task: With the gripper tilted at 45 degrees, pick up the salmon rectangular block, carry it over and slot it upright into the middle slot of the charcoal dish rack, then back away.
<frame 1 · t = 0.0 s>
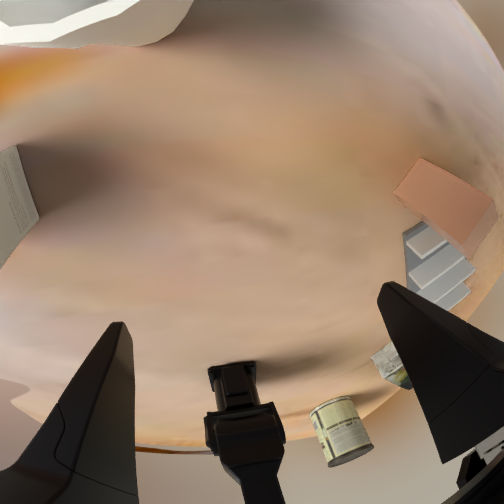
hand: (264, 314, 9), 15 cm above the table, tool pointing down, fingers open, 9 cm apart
salmon rectangular block: (413, 183, 25), on the table
juice carton: (402, 350, 47), on the table
rack: (437, 263, 33), on the table
foam cup: (144, 10, 12), on the table
coffee can: (330, 406, 54), on the table
supplement box: (3, 192, 16), on the table
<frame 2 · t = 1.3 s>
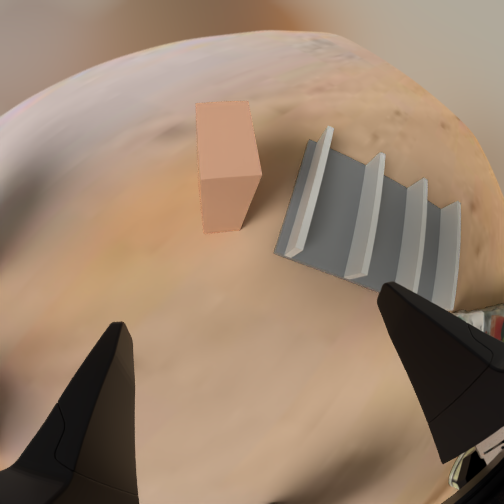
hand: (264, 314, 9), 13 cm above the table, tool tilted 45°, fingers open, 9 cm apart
salmon rectangular block: (218, 203, 23), on the table
juice carton: (483, 339, 26), on the table
rack: (380, 229, 25), on the table
coffee can: (468, 459, 22), on the table
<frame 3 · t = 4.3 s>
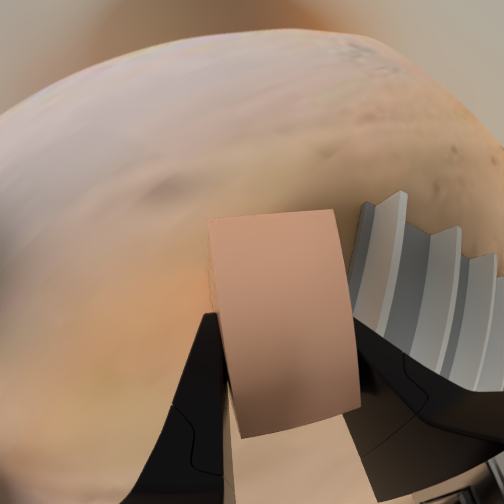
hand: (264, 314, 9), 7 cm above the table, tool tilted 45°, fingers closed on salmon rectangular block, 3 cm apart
salmon rectangular block: (240, 314, 16), on the table, touching gripper
rack: (439, 321, 18), on the table
when the fingers open (9 cm above the table, at t = 8.6 s): salmon rectangular block stays where it is, resting on rack.
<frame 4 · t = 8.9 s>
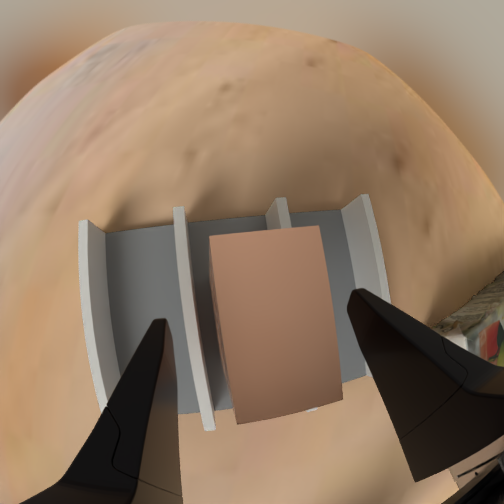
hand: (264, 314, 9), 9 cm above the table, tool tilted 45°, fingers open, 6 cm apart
salmon rectangular block: (239, 315, 17), point 1 cm above the table, touching rack
juice carton: (476, 335, 21), on the table
rack: (238, 313, 17), on the table
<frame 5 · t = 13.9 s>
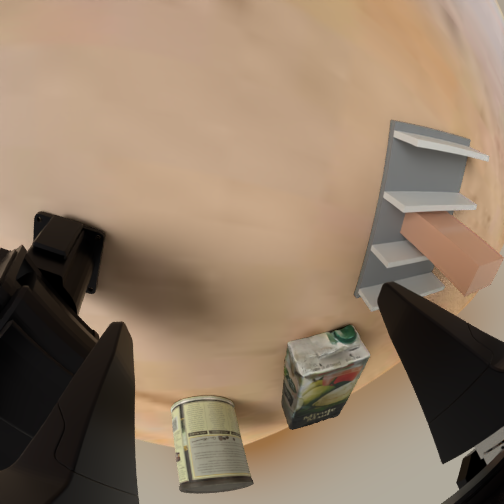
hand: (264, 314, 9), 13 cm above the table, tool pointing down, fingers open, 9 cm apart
salmon rectangular block: (419, 218, 25), point 1 cm above the table, touching rack
juice carton: (312, 368, 38), on the table
rack: (416, 216, 25), on the table
coffee can: (202, 407, 38), on the table
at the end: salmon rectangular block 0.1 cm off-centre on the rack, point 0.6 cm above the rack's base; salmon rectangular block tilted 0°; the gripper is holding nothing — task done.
